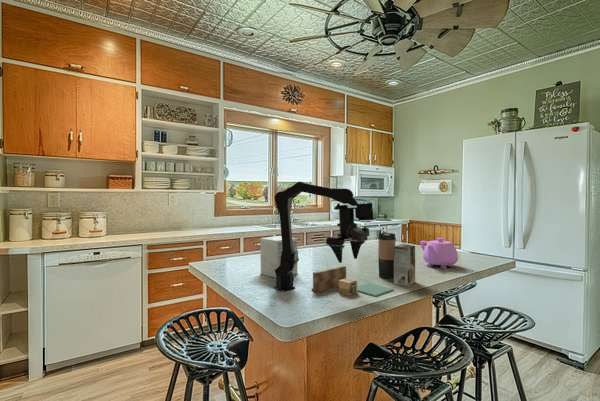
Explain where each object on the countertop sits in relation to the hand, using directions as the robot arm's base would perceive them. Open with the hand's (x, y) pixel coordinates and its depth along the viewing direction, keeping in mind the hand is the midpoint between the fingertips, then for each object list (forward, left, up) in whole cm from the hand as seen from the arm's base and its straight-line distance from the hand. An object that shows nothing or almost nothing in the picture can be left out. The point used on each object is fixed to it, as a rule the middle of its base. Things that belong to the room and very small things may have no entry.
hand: (348, 260), depth 124 cm
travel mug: (+32, +4, -13) cm, 34 cm away
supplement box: (-2, +42, -13) cm, 44 cm away
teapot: (+71, 0, -13) cm, 72 cm away
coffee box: (+29, -7, -13) cm, 32 cm away
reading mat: (+10, -4, -12) cm, 16 cm away
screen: (0, +9, -12) cm, 16 cm away
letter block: (0, 0, -13) cm, 13 cm away
